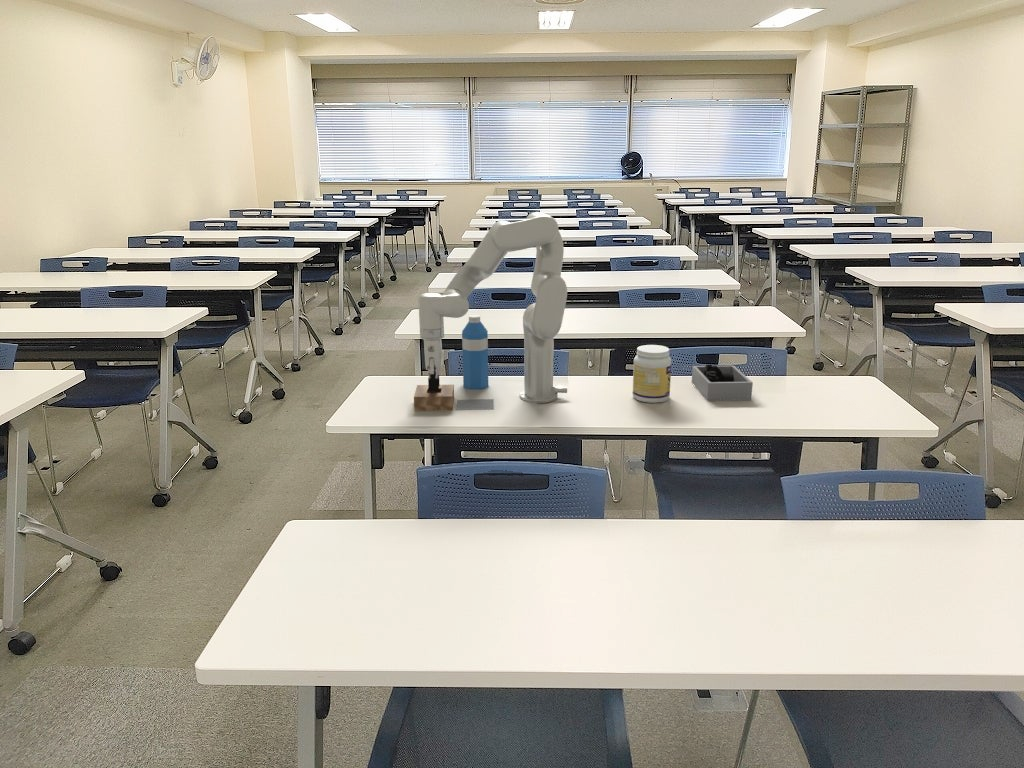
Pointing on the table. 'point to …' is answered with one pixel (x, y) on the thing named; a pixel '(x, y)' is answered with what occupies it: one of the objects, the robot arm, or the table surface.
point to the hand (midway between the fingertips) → (434, 387)
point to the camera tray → (723, 385)
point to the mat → (475, 404)
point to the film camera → (717, 374)
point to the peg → (437, 377)
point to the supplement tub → (652, 374)
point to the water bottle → (475, 354)
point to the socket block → (434, 398)
